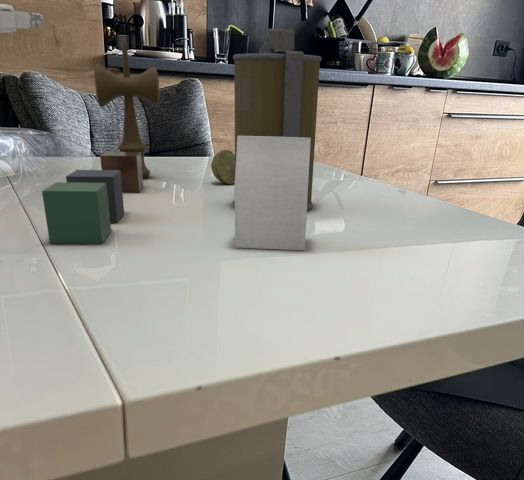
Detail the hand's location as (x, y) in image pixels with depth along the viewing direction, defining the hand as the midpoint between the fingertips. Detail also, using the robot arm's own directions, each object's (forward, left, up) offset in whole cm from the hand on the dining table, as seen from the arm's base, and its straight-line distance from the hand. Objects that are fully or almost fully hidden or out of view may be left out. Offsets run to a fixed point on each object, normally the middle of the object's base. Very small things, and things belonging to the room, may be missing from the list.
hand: (36, 21), depth 78 cm
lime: (+27, -2, -22) cm, 35 cm away
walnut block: (+12, -9, -22) cm, 26 cm away
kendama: (+12, +3, -22) cm, 25 cm away
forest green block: (+12, -36, -22) cm, 44 cm away
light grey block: (+31, -39, -22) cm, 54 cm away
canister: (+33, -20, -22) cm, 44 cm away
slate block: (+12, -27, -22) cm, 37 cm away
